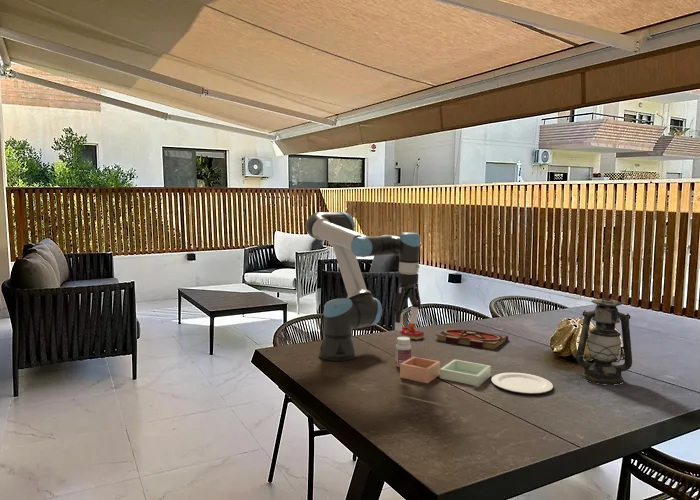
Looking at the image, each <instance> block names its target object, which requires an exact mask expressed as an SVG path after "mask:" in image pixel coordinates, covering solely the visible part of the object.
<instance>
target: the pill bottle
mask: <svg viewBox="0 0 700 500" xmlns="http://www.w3.org/2000/svg"><path fill="white" fill-rule="evenodd" d="M396 343H397V344H395V356H394V357H395V362H394V363H395V366H396V367H398V368H400V364H401V363H403V362H404V361H406V360H408V359H410V358H412V345H411V339H410V338H409V337H402V336H398V337H397V338H396Z"/></svg>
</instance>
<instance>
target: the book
mask: <svg viewBox="0 0 700 500" xmlns="http://www.w3.org/2000/svg"><path fill="white" fill-rule="evenodd" d="M435 336H436V337H437V338H436V339H435V341H436V342H440V343H441V342H442V343H446V344H452V345H461V346H465V347H469V348H476V349H482V350H483V349H484V350H491V351H496V350H498V349H499V345H500V346H501V345H502V344H503V343H505V342H508V341H509V335H503V334H496V333H490V332H486V331H485V332H484V331H478V330H471V329H463V328H457V327H456V328H455V327H449V328H447V329H444V330H443V331H440V332H439V333H436V334H435ZM435 341H434V342H435Z"/></svg>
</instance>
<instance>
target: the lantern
mask: <svg viewBox="0 0 700 500" xmlns="http://www.w3.org/2000/svg"><path fill="white" fill-rule="evenodd" d="M591 302H592V303H593V304H595V305H596V306H595V307H594V309H593V310H590V311H586V310H584V311H582V314H581V315H582V316H583V321H582V325H581V331H580V335H579V340H578V341H579V342H578V346H577V351H576V356H575V359H576V362H577V364H578V365H579V366H580V367H581V368H582V367H583V368H584V370H583V371H582V372H581V374H580V377H581V376H582V377H581V378H582V379H583V378H584V379H586V380H588V381H591V382H594V383H593V384H595V383H599V384H598V385H600V384H607V385H606V386H608V385H614V384H620V383H622V382H623V381H624V382H625V380H624V379H623V376H622V372H627V371H628V370H630V369H631V367H632V366H633V354H632V344H631V343H632V341H631V331H630V319H631V315H630V314H629V313H626V314H625V313H622V312H620V311H619V310H618V306H622V305H623V303H622V302H621V301H618V300H615V299H610V298H596V299H592V300H591ZM591 320H592V321H594V322H595V327H592V328H591V329H590V326H591ZM617 324H620V325H621V326H620V327H621V332H619V330H617V329H616V325H617ZM621 336H622V342H621ZM621 345H623V346H621ZM586 346H587V351H588V353H589V355H587V354H586V353H585V352H586V350H585V349H586ZM618 357H619V359H618ZM586 359H589V360H591V361H592V360H593V361H594V362H593V363H591V362H588V361H586ZM620 361H624V363H623V364H619V365H613V364H612V363H619V362H620ZM584 379H583V380H584ZM586 380H585V381H586ZM588 381H587V382H588ZM591 382H590V383H591Z"/></svg>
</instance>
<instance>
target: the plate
mask: <svg viewBox="0 0 700 500" xmlns="http://www.w3.org/2000/svg"><path fill="white" fill-rule="evenodd" d="M491 383H493V385H494V386H496V387H498V388H499V389H502V390H504V391H509V392H513V393H517V394H525V395H540V394H546V393H549V392H551V391H552V390H553V387H554V385H553V383H552V382H551V381H549V380H548V379H546V378H543V377H541V376H538V375H534V374H530V373H523V372H503V373H498V374H494V375H493V376H492V377H491Z"/></svg>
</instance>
